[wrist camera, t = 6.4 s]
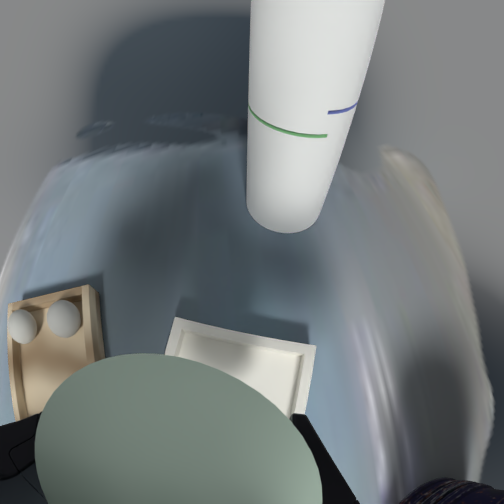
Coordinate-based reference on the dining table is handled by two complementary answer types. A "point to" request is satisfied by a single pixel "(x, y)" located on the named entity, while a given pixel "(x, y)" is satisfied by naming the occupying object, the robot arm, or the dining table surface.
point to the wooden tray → (52, 349)
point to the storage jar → (454, 493)
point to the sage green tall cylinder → (168, 438)
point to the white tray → (249, 360)
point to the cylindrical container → (302, 101)
